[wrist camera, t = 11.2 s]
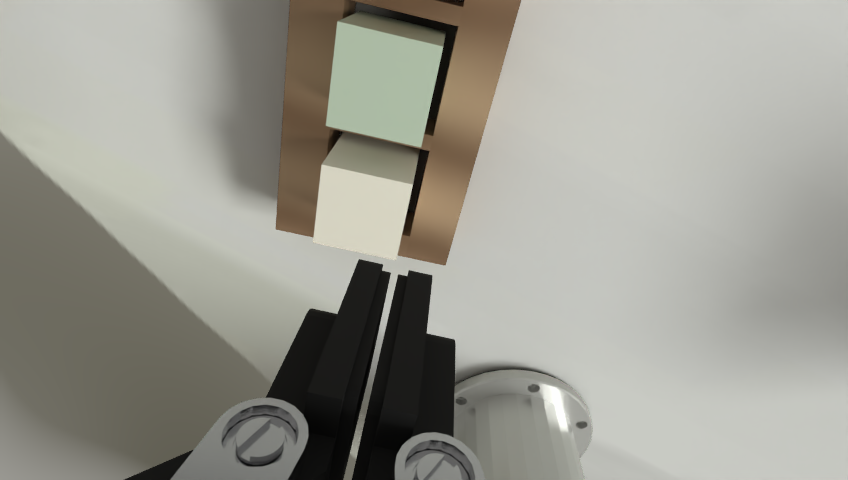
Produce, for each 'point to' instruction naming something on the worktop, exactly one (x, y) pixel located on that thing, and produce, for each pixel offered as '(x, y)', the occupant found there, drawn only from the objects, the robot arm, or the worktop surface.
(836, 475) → the worktop surface
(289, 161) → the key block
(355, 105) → the key sage
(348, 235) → the cream block
